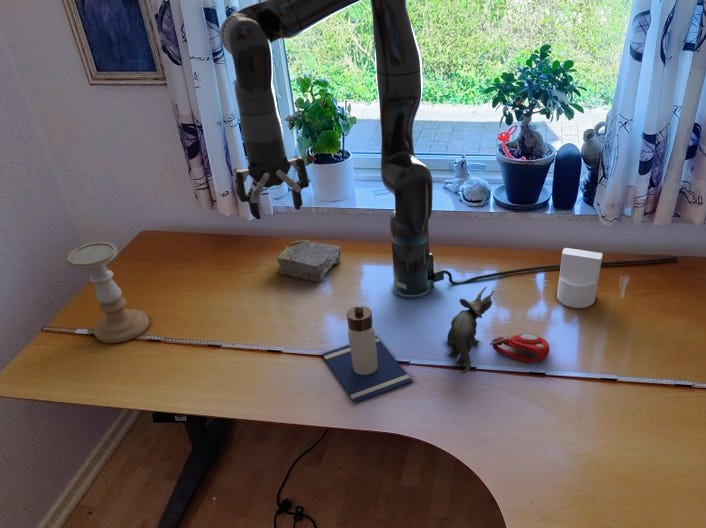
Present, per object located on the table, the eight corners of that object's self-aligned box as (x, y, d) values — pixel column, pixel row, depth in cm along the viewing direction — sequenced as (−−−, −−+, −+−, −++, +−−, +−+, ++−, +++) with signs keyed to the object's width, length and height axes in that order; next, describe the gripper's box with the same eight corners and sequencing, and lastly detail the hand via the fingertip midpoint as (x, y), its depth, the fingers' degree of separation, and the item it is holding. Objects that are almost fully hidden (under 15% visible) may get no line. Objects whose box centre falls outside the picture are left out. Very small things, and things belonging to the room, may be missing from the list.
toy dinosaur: (466, 390, 126) (466, 345, 119) (426, 381, 129) (425, 337, 122) (493, 329, 142) (495, 286, 135) (458, 322, 145) (458, 280, 138)
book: (376, 337, 142) (376, 335, 141) (412, 382, 129) (412, 380, 129) (322, 355, 137) (322, 353, 137) (354, 403, 125) (354, 401, 124)
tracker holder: (532, 328, 140) (561, 342, 132) (530, 346, 142) (558, 361, 133) (486, 332, 135) (513, 347, 126) (484, 352, 136) (511, 368, 128)
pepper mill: (371, 355, 136) (365, 296, 126) (382, 369, 132) (376, 309, 122) (348, 363, 134) (340, 304, 124) (358, 377, 130) (351, 317, 120)
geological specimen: (322, 266, 157) (270, 254, 161) (324, 286, 161) (274, 274, 166) (341, 246, 165) (292, 235, 169) (343, 265, 169) (295, 254, 173)
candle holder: (159, 326, 148) (131, 250, 136) (110, 350, 141) (76, 273, 129) (134, 307, 155) (105, 234, 142) (85, 330, 148) (51, 254, 136)
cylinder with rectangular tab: (553, 304, 149) (558, 259, 142) (561, 285, 156) (566, 241, 148) (591, 310, 146) (599, 266, 139) (597, 291, 153) (605, 247, 145)
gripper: (231, 147, 114) (249, 228, 124) (304, 132, 119) (316, 211, 129) (220, 135, 119) (239, 214, 129) (292, 121, 124) (304, 198, 134)
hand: (277, 213), depth 129 cm, fingers open, 8 cm apart
